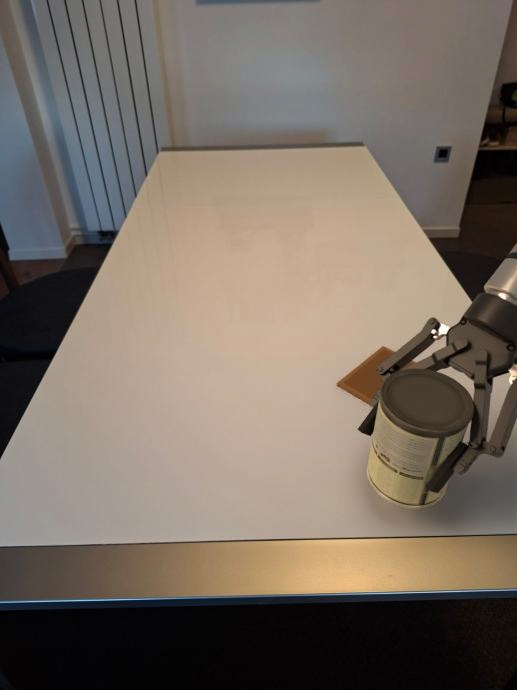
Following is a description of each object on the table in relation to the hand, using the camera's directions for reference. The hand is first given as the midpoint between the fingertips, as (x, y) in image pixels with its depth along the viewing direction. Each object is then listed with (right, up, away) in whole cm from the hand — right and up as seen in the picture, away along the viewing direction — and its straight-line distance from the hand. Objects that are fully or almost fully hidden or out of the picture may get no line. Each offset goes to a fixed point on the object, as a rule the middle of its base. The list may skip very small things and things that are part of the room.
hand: (395, 459), depth 60 cm
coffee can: (+3, -3, +5) cm, 6 cm away
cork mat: (+7, +7, +25) cm, 26 cm away
